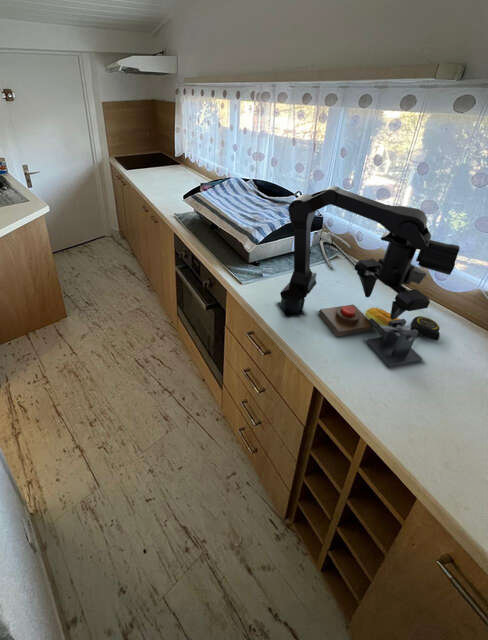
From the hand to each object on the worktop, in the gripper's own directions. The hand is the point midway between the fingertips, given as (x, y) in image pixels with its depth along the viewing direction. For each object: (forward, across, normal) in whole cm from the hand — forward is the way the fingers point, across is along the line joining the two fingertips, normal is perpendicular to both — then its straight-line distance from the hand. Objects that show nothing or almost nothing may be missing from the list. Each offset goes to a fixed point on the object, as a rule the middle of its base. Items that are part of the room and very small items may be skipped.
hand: (379, 307), depth 83 cm
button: (+10, +9, +1) cm, 13 cm away
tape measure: (+14, -1, -19) cm, 23 cm away
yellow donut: (+8, +4, -9) cm, 13 cm away
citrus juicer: (+10, +35, -17) cm, 40 cm away
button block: (+13, +9, +1) cm, 16 cm away
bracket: (+13, -4, -5) cm, 15 cm away
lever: (+5, -4, -1) cm, 7 cm away
